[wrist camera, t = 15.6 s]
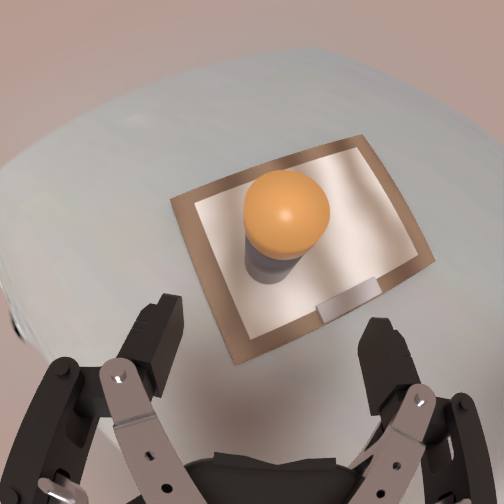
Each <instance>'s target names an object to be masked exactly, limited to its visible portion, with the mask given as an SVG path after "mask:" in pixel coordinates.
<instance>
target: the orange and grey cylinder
mask: <svg viewBox="0 0 504 504" xmlns="http://www.w3.org/2000/svg"><path fill="white" fill-rule="evenodd" d="M329 220H330V206H329V202H328V199H327V197H326V194H325V193H324V191H323V190H322V188H321V187H320V186H319V185H318V184H317V183H316V182H315V181H314V180H313V179H311V178H310V177H308V176H306V175H304V174H302V173H299V172H296V171H292V170H276V171H272V172H269V173H266V174H264V175H262V176H260V177H259V178H258V179H256V180H255V181H254V182H253V183H252V185H251V186H250V187H249V189H248V191H247V193H246V195H245V199H244V230H245V267H246V270H247V272H248V273H249V275H250V276H251V277H252V278H253V279H254V280H256V281H257V282H259V283H262V284H276V283H278V282H280V281H282V280H283V279H284V278H286V276H287V275H288V274H289V273H290V272H291V270H292V269H293V268H294V267H295V265H296V264H297V263H298V262H299V260H300V259H301V258H302V257H303V255H304V254H306V253H307V252H308V251H309V250H310V249H311V248H312V247H313V246H314V245H315V243H316V242H317V241H318V240H319V239H320V237H321V236H322V235H323V234H324V232H325V230H326V229H327V226H328V224H329Z"/></svg>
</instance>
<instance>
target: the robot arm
mask: <svg viewBox="0 0 504 504" xmlns="http://www.w3.org/2000/svg"><path fill="white" fill-rule="evenodd" d="M183 329H184V319H183V306H182V297H181V296H177V295H171V294H165V293H164V294H162V296H161V298H160V300H159V302H158V304H157V305H156V304H151V303H150V304H149V305H147V306H146V307H145V308H144V309H143V310H141V312H140V314H139V316H138V317H137V319H136V321H135V323H134V325H133V327H132V329H131V330H130V332H129V334H128V336H127V338H126V340H125V342H124V344H123V346H122V348H121V350H120V352H119V354H118V355H117V357H116V358H113V359H110V360H108V361H107V362H105V363H104V364H103V366H101V367H79V365H78V363H77V362H76V361H75V360H74V359H72V358H70V357H61V358H58V359H56V360H54V361H53V362H52V363H51V364H50V366H49V368H48V369H47V371H46V373H45V375H44V377H43V380H42V381H41V383H40V385H39V387H38V389H37V391H36V393H35V395H34V397H33V399H32V401H31V403H30V406H29V408H28V410H27V413H26V414H25V417H24V419H23V421H22V423H21V426H20V428H19V431H18V433H17V436H16V438H15V441H14V443H13V446H12V449H11V451H10V454H9V457H8V460H7V462H6V466H5V469H4V472H3V475H2V478H1V482H0V502H1V504H89V500H88V496H87V494H86V492H85V490H84V489H83V488H82V487H81V486H80V481H81V477H82V474H83V470H84V467H85V463H86V460H87V456H88V453H89V450H90V446H91V443H92V440H93V437H94V434H95V430H96V428H97V425H98V422H99V419H100V417H112V419H113V422H114V425H113V429H114V433H115V436H116V438H117V441H118V443H119V446H120V449H121V451H122V453H123V456H124V458H125V461H126V463H127V465H128V467H129V469H130V472H131V474H132V476H133V478H134V480H135V482H136V485H137V487H138V489H139V491H140V493H141V495H140V496H138V497H136V498H135V499H133V500H132V501H130V502H128V503H127V504H399V502H400V500H401V498H402V497H403V495H404V493H405V491H406V489H407V487H408V485H409V483H410V481H411V479H412V477H413V475H414V473H415V471H416V469H417V467H418V465H419V462H420V460H421V467H422V475H423V484H424V494H425V504H497V499H496V491H495V484H494V478H493V473H492V467H491V462H490V458H489V453H488V449H487V445H486V441H485V437H484V433H483V430H482V426H481V423H480V419H479V416H478V413H477V410H476V407H475V404H474V401H473V400H472V398H471V397H470V396H469V395H467V394H465V393H457V394H455V395H454V396H453V397H452V398H451V399H445V398H440V397H435V394H434V392H433V391H432V390H431V389H430V388H429V387H428V386H426V385H424V384H421V382H420V379H419V376H418V373H417V370H416V368H415V365H414V362H413V360H412V357H410V356H411V354H410V352H409V349H408V347H407V344H406V342H405V339H404V338H403V336H402V335H401V334H400V333H399V332H398V331H397V330H393V327H392V325H391V322H390V320H389V319H388V318H376V317H372V318H371V319H370V320H369V322H368V324H367V327H366V329H365V331H364V333H363V335H362V337H361V339H360V341H359V344H358V357H359V361H360V366H361V370H362V374H363V379H364V384H365V388H366V393H367V398H368V403H369V408H370V413H371V416H375V415H380V416H381V420H380V421H379V423H378V424H377V426H376V428H375V430H374V431H373V433H372V435H371V436H370V438H369V440H368V441H367V443H366V445H365V446H364V448H363V449H362V451H361V452H360V454H359V455H358V456H357V458H356V459H355V460H354V461H353V462H352V463H351V464H350V465H349V467H348V468H347V467H345V466H341V465H338V464H336V458H319V459H304V460H300V461H295V462H291V463H286V464H281V465H274V464H270V463H267V462H263V461H260V460H256V459H253V458H250V457H247V456H241V455H232V454H225V453H218V452H215V453H214V458H206V459H200V460H197V461H193V462H191V463H188V464H186V465H184V466H183V464H182V463H181V461H180V459H179V457H178V456H177V454H176V452H175V450H174V448H173V446H172V445H171V443H170V441H169V439H168V437H167V435H166V433H165V431H164V429H163V427H162V425H161V423H160V421H159V419H158V417H157V415H156V413H155V411H154V409H153V407H152V405H151V401H152V398H153V396H155V397H159V398H161V397H162V394H163V391H164V388H165V385H166V382H167V379H168V376H169V373H170V370H171V367H172V364H173V361H174V358H175V355H176V352H177V349H178V346H179V343H180V341H181V338H182V334H183ZM449 436H450V437H451V441H452V446H453V451H454V458H453V460H452V458H451V453H450V448H449V443H448V439H447V438H448V437H449Z"/></svg>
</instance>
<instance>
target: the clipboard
mask: <svg viewBox="0 0 504 504" xmlns="http://www.w3.org/2000/svg"><path fill="white" fill-rule="evenodd" d="M276 170H292V171H296V172H299V173H302V174H304V175H306V176H308V177H310V178H311V179H313V180H314V181H315V182H316V183H317V184H318V185H319V186H320V187H321V188H322V190H323V191H324V193H325V194H326V197H327V199H328V202H329V206H330V220H329V224H328V226H327V229H326V230H325V232H324V234H323V235H322V236H321V237H320V239H319V240H318V241H317V242H316V243H315V245H314V246H313V247H312V248H311V249H310V250H309V251H308V252H307V253H306V254H304V255H303V257H302V258H301V259H300V260H299V262H298V263H297V264H296V265H295V267H294V268H293V269H292V270H291V272H290V273H289V274H288V275H287V276H286V278H284V279H283V280H282V281H280V282H278V283H276V284H262V283H259V282H257V281H256V280H254V279H253V278H252V277H251V276H250V275H249V273H248V272H247V270H246V267H245V230H244V199H245V195H246V193H247V191H248V189H249V187H250V186H251V185H252V183H253V182H254V181H255V180H256V179H258V178H259V177H260V176H262V175H264V174H266V173H269V172H272V171H276ZM170 201H171V204H172V207H173V209H174V212H175V215H176V218H177V221H178V224H179V227H180V229H181V232H182V235H183V238H184V240H185V243H186V246H187V249H188V251H189V254H190V257H191V259H192V262H193V265H194V267H195V270H196V272H197V275H198V277H199V280H200V283H201V285H202V288H203V290H204V293H205V295H206V298H207V300H208V303H209V305H210V307H211V310H212V312H213V315H214V317H215V320H216V322H217V324H218V327H219V329H220V331H221V334H222V336H223V338H224V341H225V343H226V345H227V347H228V350H229V352H230V354H231V357H232V359H233V361H234V363H235V365H237V364H239V363H242V362H244V361H247V360H249V359H252V358H254V357H256V356H259V355H261V354H263V353H266V352H268V351H270V350H273V349H275V348H277V347H279V346H282V345H284V344H286V343H288V342H290V341H293V340H295V339H297V338H299V337H301V336H303V335H305V334H307V333H309V332H312V331H314V330H316V329H318V328H320V327H322V326H324V325H326V324H328V323H330V322H332V321H334V320H335V319H337V318H339V317H341V316H343V315H345V314H347V313H349V312H351V311H353V310H354V309H356V308H358V307H360V306H362V305H363V304H365V303H367V302H369V301H371V300H372V299H374V298H376V297H378V296H379V295H381V294H383V293H385V292H386V291H388V290H390V289H391V288H393V287H395V286H396V285H398V284H400V283H401V282H403V281H405V280H406V279H408V278H409V277H411V276H413V275H414V274H416V273H417V272H419V271H421V270H422V269H424V268H425V267H427V266H428V265H430V264H431V263H433V262H434V261H435V259H434V257H433V255H432V252H431V250H430V248H429V246H428V244H427V242H426V240H425V238H424V236H423V234H422V232H421V230H420V228H419V226H418V224H417V222H416V220H415V218H414V216H413V214H412V213H411V211H410V209H409V207H408V205H407V203H406V202H405V200H404V198H403V196H402V195H401V193H400V191H399V190H398V188H397V186H396V185H395V183H394V181H393V180H392V178H391V176H390V175H389V173H388V172H387V170H386V168H385V167H384V165H383V164H382V162H381V161H380V159H379V158H378V156H377V155H376V153H375V152H374V150H373V149H372V147H371V146H370V144H369V143H368V142H367V140H366V139H365V137H364V136H363V135H358V136H354V137H350V138H347V139H343V140H339V141H335V142H332V143H328V144H325V145H321V146H318V147H314V148H311V149H308V150H304V151H301V152H298V153H295V154H291V155H288V156H285V157H282V158H279V159H276V160H273V161H270V162H267V163H264V164H261V165H258V166H255V167H252V168H249V169H247V170H244V171H241V172H238V173H235V174H233V175H230V176H227V177H225V178H222V179H219V180H217V181H214V182H211V183H209V184H206V185H204V186H201V187H199V188H196V189H194V190H191V191H189V192H186V193H184V194H181V195H179V196H176V197H174V198H172V199H170Z"/></svg>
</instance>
